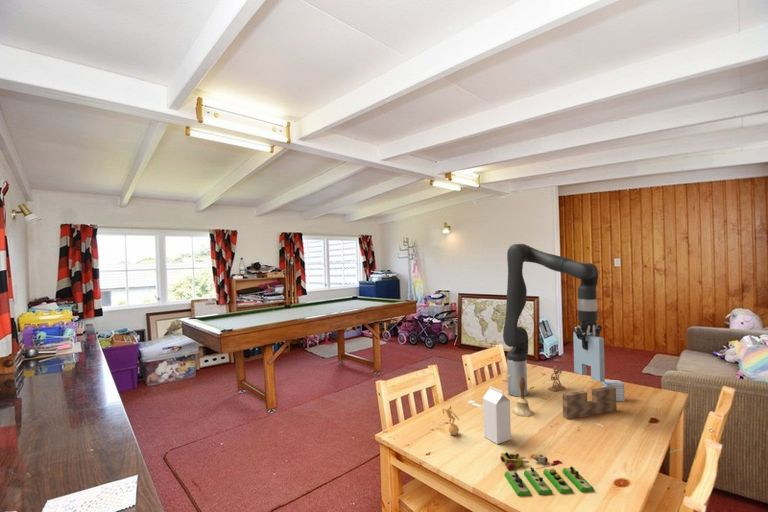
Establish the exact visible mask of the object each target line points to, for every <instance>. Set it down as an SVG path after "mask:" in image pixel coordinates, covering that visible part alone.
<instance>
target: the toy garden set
mask: <svg viewBox="0 0 768 512" xmlns="http://www.w3.org/2000/svg"><path fill="white" fill-rule="evenodd" d="M526 458H527V457H526V456H520V453H508V451H506V452H501V453H500V460H501V462H502V463H504V465H505V466H506V469H507V471H505V472H504V477H505V479H506V480H507V482H508V483H509V485H510V486H511V488H512V490H513V491H514V492H515V494H516V496H517V497H524V496H526V497H527V496H532V492H531V490H530V489H529V488H528V486H527V485H526V484H525V482H524V480H522V478H521V476H520V475H519V474H518V472H517V471H516V469H517V468H520V466H521V465H522V464H523V463H524V464H526V463H529V462H530V461H529V460H523V459H526ZM532 459H533V460H535V461H536V462H537V463H538V465H542V466H541V467H535V468H534V467H532V466H531V467H530V468H529V469H530V470H527V469H526V470H524V471H523V475H524V477H525V478H526V480H527V481H528V482H529V484H530V485H531V486H532V488H533V489H534V491H536V493H537V494H538V495H539V496H540V495H541V496H542V495H545V496H546V495H552V494H553V490H552V489H551V487H550V486H549V485H548V484H547V482H546V481H545V480H544V478H543V477H542V476H540V474H539V473H538V472H537V471H536V470H539V469H544V468H545V469H544V470H543V471H542V474H543V475H544V476H545V478H546V479H547V480H548V481H549V482H550V483H551V485H552V486H553V487H554V488H555V489H556V490H557V492H558V493H559V494H560V495H562V494H573V493H574V490H573V488H572V487H571V486H570V485H569V483H567V482H566V480H565V479H564V478H563V477H562V476H561V475H560V474H559V473H558V472H557V471H556V469H554V468H551V469H550V468H549V469H546V468H548V467H554V466H558V465H563V461H561V460H558V459H557V460H553V461H552V463H550V464H547V463H548V461H549V459H548V457H547V456H545V454H543V453H537V456H536V454H535V455H533V456H532ZM546 464H547V465H546ZM561 471H562V474H563V475H564V476H565V477H566V478H567V479H568V480H569V481H570V482H571V483H572V485H573V486H574V487H575V488H576V489H577V490H578V491H579V492H580V493H588V492H594V491H595V489H594V487H593V485H591V484H590V483H589V482H588V481H587V480H586V479H585V478H584V477H583V476H582V475H581V474H580V472H579V471H578V470H576V468H575V467H573V466H570V467H563V469H562V470H561Z"/></svg>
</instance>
